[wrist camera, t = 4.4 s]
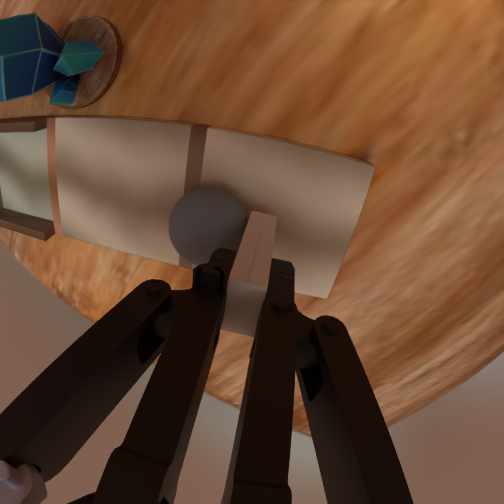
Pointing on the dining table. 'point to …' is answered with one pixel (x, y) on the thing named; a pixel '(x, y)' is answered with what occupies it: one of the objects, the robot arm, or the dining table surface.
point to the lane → (176, 186)
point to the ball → (206, 224)
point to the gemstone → (58, 59)
